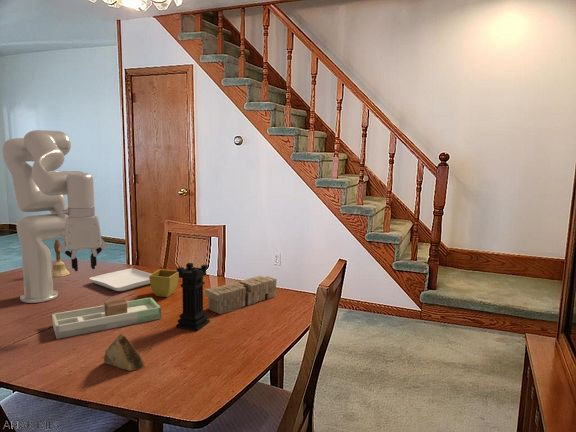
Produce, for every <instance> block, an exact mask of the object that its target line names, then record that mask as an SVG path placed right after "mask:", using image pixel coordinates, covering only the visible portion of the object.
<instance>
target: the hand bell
mask: <svg viewBox="0 0 576 432" xmlns="http://www.w3.org/2000/svg"><path fill="white" fill-rule="evenodd" d="M60 245H61V243H60V240H59V239H55V240H54V244H53V246H54V247H53V248H54V252H55V259H56V261H55V262H53V265H52V266H53V267H52V278H62V277H66V276H69V275H71V273H70V271H69V270H68V269H67V268H66V265H65V262H64V261H62V259H61V252H60V251H59V250H58V248H59V247H60Z"/></svg>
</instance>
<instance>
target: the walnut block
mask: <svg viewBox="0 0 576 432" xmlns="http://www.w3.org/2000/svg"><path fill="white" fill-rule="evenodd" d="M103 303H104V304H103V305H104V307H105V315H106V316H112V315H117V314H123V313H127V303H126V300H125V299H124V298H123V297H121V298H114V299H108V300H104V301H103Z"/></svg>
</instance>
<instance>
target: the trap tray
mask: <svg viewBox="0 0 576 432" xmlns="http://www.w3.org/2000/svg"><path fill="white" fill-rule="evenodd" d="M125 301H126V300H125ZM126 303H127V313H123V314H117V315H112V316H106V315H105V307H104V304H103V305H98V306H97V305H95V306H92V307H84V308H80V309H79V308H78V309H73V310H68V311H67V310H66V311H62V312H55V313H51V317H52V318H51V319H52V323H51V324H52V327H53V331H54V333H55V334H54V335H55V338H56V340H58V339H63V338H68V337H74V336H80V335H85V334H90V333H93V332H94V333H95V332H100V331H104V330H110V329H115V328H119V327H125V326H131V325H135V324H140V323H145V322H151V321H155V320H161V319H162V307H161V305H159V304H158V303H157V301H155V299H154V298H153V297H150V296H149V297H144V298H140V299H134V300H128V301H126Z"/></svg>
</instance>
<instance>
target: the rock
mask: <svg viewBox="0 0 576 432" xmlns="http://www.w3.org/2000/svg"><path fill="white" fill-rule="evenodd" d="M103 362H104V363H105V364H108V365H111V366H113V367H117V368H119V369H123V370H126V371H135V370H136V371H137V370H139V369H142V368H145V367H146V364H145V362H144V360H143V358H142V356H141V355H140V354H139V352H138V351H137V349H136V348H135V347H134V345H133V344H132V343H131V341H130V340H128V339H127V337H126V336H125V335H123V334H122V333H121V334H119V335H118V336H117V337H116V338H115V340H114V341H113V342H112V343H111V344H110V345H109V346H108V348H107V349H106V350H105V353H104V356H103Z"/></svg>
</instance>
